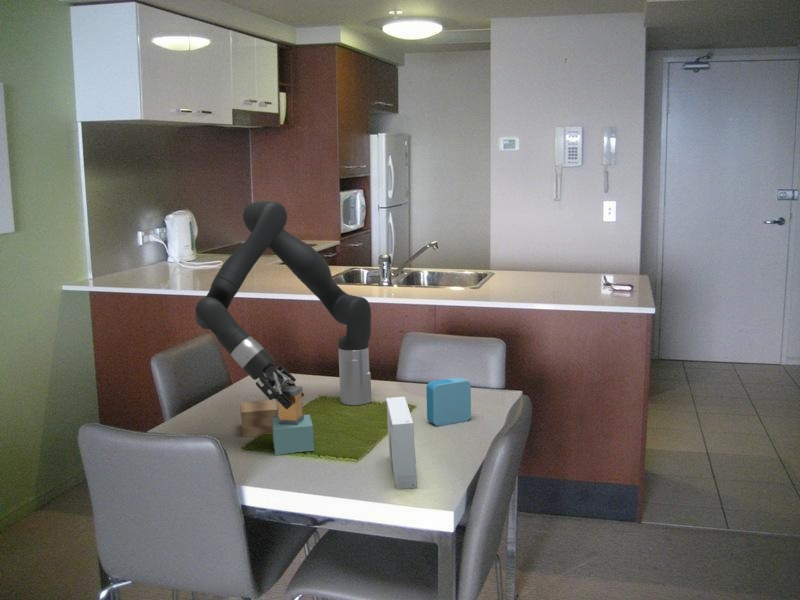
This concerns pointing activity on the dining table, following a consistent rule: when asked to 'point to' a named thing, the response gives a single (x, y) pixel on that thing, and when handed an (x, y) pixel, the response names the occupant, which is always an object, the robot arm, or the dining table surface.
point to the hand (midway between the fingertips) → (295, 402)
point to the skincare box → (401, 443)
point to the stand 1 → (258, 417)
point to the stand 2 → (293, 436)
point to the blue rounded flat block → (448, 401)
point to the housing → (295, 410)
